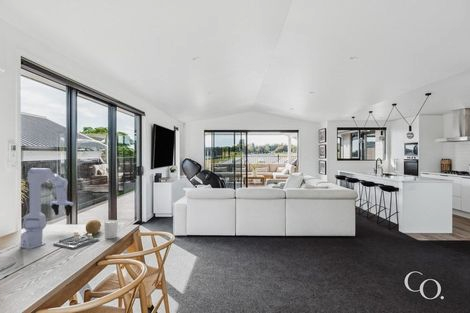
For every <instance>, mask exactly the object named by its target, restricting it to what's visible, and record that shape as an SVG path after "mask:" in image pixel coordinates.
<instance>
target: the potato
mask: <svg viewBox="0 0 470 313" xmlns="http://www.w3.org/2000/svg"><path fill="white" fill-rule="evenodd" d="M101 227H102V224H101V222H100V220H97V219H93V220H90V221H88V222H87V223H86V224H85V231H86V233H87V234H92V236H94V235H96V234H97V233H98V232H99V231H100V230H101Z"/></svg>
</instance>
